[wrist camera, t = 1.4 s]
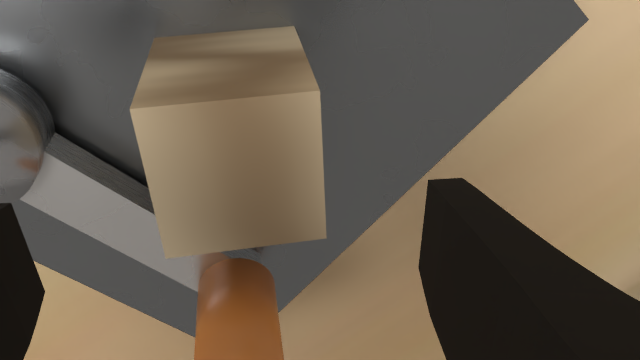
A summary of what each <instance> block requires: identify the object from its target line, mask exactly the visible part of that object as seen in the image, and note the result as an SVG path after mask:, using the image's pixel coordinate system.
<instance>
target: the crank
mask: <svg viewBox="0 0 640 360" xmlns="http://www.w3.org/2000/svg"><path fill="white" fill-rule="evenodd" d="M19 199H20V200H22V201H24V202H26V203H27V204H29V205H31V206H33V207H35V208H37V209H39V210H41V211H43V212H45V213H47V214H49V215H50V216H52V217H54V218H56V219H58V220H60V221H62V222H64V223H66V224H68V225H70V226H72V227H74V228H75V229H77V230H79V231H81V232H83V233H85V234H87V235H89V236H91V237H93V238H95V239H97V240H99V241H100V242H102V243H104V244H106V245H108V246H110V247H112V248H114V249H116V250H118V251H120V252H122V253H124V254H125V255H127V256H129V257H131V258H133V259H135V260H137V261H139V262H141V263H143V264H145V265H147V266H148V267H150V268H152V269H154V270H156V271H158V272H160V273H162V274H164V275H166V276H168V277H170V278H172V279H173V280H175V281H177V282H179V283H181V284H183V285H185V286H187V287H189V288H191V289H193V290H195V291H197V292H198V298H197V317H196V336H195V354H194V360H284V357H283V349H282V341H281V332H280V324H279V316H278V307H277V299H276V291H275V283H274V278H273V276H272V274H271V272H270V271H269V270H268V269H267V268H266V267H265V266H264V265H262V264H261V255H260V254H259V253H257V252H255V251H254V250H252V249H250V248H247V249H239V250H231V251H223V252H215V253H207V254H200V255H192V256H184V257H176V258H168V259H166V258H165V254H164V249H163V245H162V241H161V237H160V233H159V229H158V225H157V221H156V216H155V212H154V208H153V204H152V200H151V196H150V192H149V188H148V187H146V186H144V185H143V184H141V183H139V182H138V181H136V180H134V179H133V178H131V177H129V176H128V175H126V174H124V173H122V172H121V171H119V170H117V169H116V168H114V167H112V166H111V165H109V164H107V163H106V162H104V161H102V160H101V159H99V158H97V157H96V156H94V155H92V154H90V153H89V152H87V151H85V150H84V149H82V148H80V147H79V146H77V145H75V144H74V143H72V142H70V141H69V140H67V139H65V138H64V137H62V136H60V135H58V134H57V133H55V126H54V121H53V118H52V115H51V113H50V110H49V109H48V107H47V105H46V103H45V102H44V101H43V99H42V98H41V97H40V95H39V94H38V93H37V92H36V91H35V90H34V89H33V88H32V87H30V86H29V85H28V84H27V83H25V82H24V81H22V80H21V79H20V78H18V77H16V76H14V75H12V74H10V73H8V72H6V71H3V70H1V69H0V203H11V204H12V203H14V202H16V201H17V200H19Z"/></svg>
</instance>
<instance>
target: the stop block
mask: <svg viewBox="0 0 640 360" xmlns="http://www.w3.org/2000/svg"><path fill="white" fill-rule="evenodd" d="M130 113H131V117H132V122H133V126H134V130H135V134H136V138H137V142H138V146H139V150H140V155H141V159H142V163H143V167H144V171H145V175H146V179H147V183H148V188H149V192H150V196H151V200H152V204H153V208H154V212H155V216H156V221H157V225H158V229H159V233H160V237H161V241H162V245H163V249H164V254H165V258H166V259H168V258H176V257H184V256H192V255H200V254H207V253H215V252H223V251H231V250H239V249H247V248H255V247H263V246H270V245H278V244H286V243H294V242H302V241H310V240H318V239H326V238H327V237H326V214H325V192H324V169H323V146H322V124H321V101H320V89H319V87H318V84H317V82H316V79H315V77H314V74H313V72H312V69H311V67H310V64H309V62H308V59H307V57H306V54H305V52H304V49H303V47H302V44H301V42H300V39H299V37H298V34H297V32H296V29H295V27H294V26H288V27H276V28H265V29H253V30H241V31H229V32H217V33H206V34H194V35H182V36H170V37H158V38H154V40H153V43H152V46H151V49H150V52H149V55H148V58H147V60H146V63H145V66H144V69H143V72H142V75H141V78H140V81H139V83H138V86H137V89H136V92H135V95H134V98H133V101H132V103H131V106H130Z"/></svg>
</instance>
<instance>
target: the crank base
mask: <svg viewBox="0 0 640 360" xmlns="http://www.w3.org/2000/svg"><path fill="white" fill-rule="evenodd" d="M588 20H589V19H588V18H587V17H586V16H585V14H584V13H583V12H582V11H581V9H580V8H579V7H578V5H577V4H576V3H575V2H574V0H0V69H1V70H3V71H6V72H8V73H10V74H12V75H14V76H16V77H18V78H20V79H21V80H22V81H24V82H25V83H27V84H28V85H29V86H30V87H32V88H33V89H34V90H35V91H36V92H37V93H38V94H39V95H40V97H41V98H42V99H43V101H44V102H45V103H46V105H47V107H48V109H49V110H50V113H51V115H52V118H53V121H54V126H55V133H57V134H58V135H60V136H62V137H64V138H65V139H67V140H69V141H70V142H72V143H74V144H75V145H77V146H79V147H80V148H82V149H84V150H85V151H87V152H89V153H90V154H92V155H94V156H96V157H97V158H99V159H101V160H102V161H104V162H106V163H107V164H109V165H111V166H112V167H114V168H116V169H117V170H119V171H121V172H122V173H124V174H126V175H128V176H129V177H131V178H133V179H134V180H136V181H138V182H139V183H141V184H143V185H144V186H146V187H148V183H147V179H146V175H145V171H144V167H143V163H142V159H141V155H140V150H139V146H138V142H137V138H136V134H135V130H134V126H133V122H132V117H131V113H130V106H131V103H132V101H133V98H134V95H135V92H136V89H137V86H138V83H139V81H140V78H141V75H142V72H143V69H144V66H145V63H146V60H147V58H148V55H149V52H150V49H151V46H152V43H153V40H154V38H158V37H170V36H182V35H194V34H206V33H217V32H229V31H241V30H253V29H265V28H276V27H288V26H294V27H295V29H296V32H297V34H298V37H299V39H300V42H301V44H302V47H303V49H304V52H305V54H306V57H307V59H308V62H309V64H310V67H311V69H312V72H313V74H314V77H315V79H316V82H317V84H318V87H319V89H320V101H321V124H322V146H323V169H324V192H325V214H326V237H327V238H326V239H318V240H310V241H302V242H294V243H286V244H278V245H270V246H263V247H255V248H250V249H252V250H254V251H255V252H257V253H259V254H260V255H261V264H262V265H264V266H265V267H266V268H267V269H268V270H269V271H270V272H271V274H272V276H273V278H274V283H275V291H276V299H277V307H278V313H279V312H280V311H281V310H282V309H283V308H284V307H285V306H286V305H287V304H288V303H289V302H290V301H291V300H292V299H293V298H294V297H296V296H297V295H298V294H299V293H300V292H301V291H302V290H303V289H304V288H305V287H306V286H307V285H308V284H309V283H310V282H311V281H312V280H314V279H315V278H316V277H317V276H318V275H319V274H320V273H321V272H322V271H323V270H324V269H325V268H326V267H327V266H328V265H329V264H330V263H332V262H333V261H334V260H335V259H336V258H337V257H338V256H339V255H340V254H341V253H342V252H343V251H344V250H345V249H346V248H347V247H348V246H350V245H351V244H352V243H353V242H354V241H355V240H356V239H357V238H358V237H359V236H360V235H361V234H362V233H363V232H364V231H365V230H366V229H368V228H369V227H370V226H371V225H372V224H373V223H374V222H375V221H376V220H377V219H378V218H379V217H380V216H381V215H382V214H383V213H385V212H386V211H387V210H388V209H389V208H390V207H391V206H392V205H393V204H394V203H395V202H396V201H397V200H398V199H399V198H400V197H401V196H403V195H404V194H405V193H406V192H407V191H408V190H409V189H410V188H411V187H412V186H413V185H414V184H415V183H416V182H417V181H418V180H419V179H421V178H422V177H423V176H424V175H425V174H426V173H427V172H428V171H429V170H430V169H431V168H432V167H433V166H434V165H435V164H436V163H437V162H439V161H440V160H441V159H442V158H443V157H444V156H445V155H446V154H447V153H448V152H449V151H450V150H451V149H452V148H453V147H454V146H455V145H457V144H458V143H459V142H460V141H461V140H462V139H463V138H464V137H465V136H466V135H467V134H468V133H469V132H470V131H471V130H472V129H473V128H475V127H476V126H477V125H478V124H479V123H480V122H481V121H482V120H483V119H484V118H485V117H486V116H487V115H488V114H489V113H490V112H491V111H493V110H494V109H495V108H496V107H497V106H498V105H499V104H500V103H501V102H502V101H503V100H504V99H505V98H506V97H507V96H508V95H510V94H511V93H512V92H513V91H514V90H515V89H516V88H517V87H518V86H519V85H520V84H521V83H522V82H523V81H524V80H525V79H526V78H528V77H529V76H530V75H531V74H532V73H533V72H534V71H535V70H536V69H537V68H538V67H539V66H540V65H541V64H542V63H543V62H544V61H546V60H547V59H548V58H549V57H550V56H551V55H552V54H553V53H554V52H555V51H556V50H557V49H558V48H559V47H560V46H561V45H562V44H564V43H565V42H566V41H567V40H568V39H569V38H570V37H571V36H572V35H573V34H574V33H575V32H576V31H577V30H578V29H579V28H580V27H582V26H583V25H584V24H585V23H586V22H587V21H588ZM12 206H13V209H14V212H15V214H16V217H17V219H18V222H19V225H20V227H21V230H22V233H23V235H24V238H25V240H26V243H27V246H28V248H29V251H30V254H31V256H32V259H33V261H35V262H38V263H40V264H42V265H44V266H46V267H48V268H50V269H52V270H54V271H57V272H59V273H61V274H63V275H65V276H67V277H69V278H71V279H73V280H75V281H78V282H80V283H82V284H84V285H86V286H88V287H90V288H92V289H94V290H97V291H99V292H101V293H103V294H105V295H107V296H109V297H111V298H113V299H115V300H118V301H120V302H122V303H124V304H126V305H128V306H130V307H132V308H134V309H137V310H139V311H141V312H143V313H145V314H147V315H149V316H151V317H153V318H155V319H158V320H160V321H162V322H164V323H166V324H168V325H170V326H172V327H174V328H177V329H179V330H181V331H183V332H185V333H187V334H189V335H191V336H193V337H195V336H196V317H197V298H198V292H197V291H195V290H193V289H191V288H189V287H187V286H185V285H183V284H181V283H179V282H177V281H175V280H173V279H172V278H170V277H168V276H166V275H164V274H162V273H160V272H158V271H156V270H154V269H152V268H150V267H148V266H147V265H145V264H143V263H141V262H139V261H137V260H135V259H133V258H131V257H129V256H127V255H125V254H124V253H122V252H120V251H118V250H116V249H114V248H112V247H110V246H108V245H106V244H104V243H102V242H100V241H99V240H97V239H95V238H93V237H91V236H89V235H87V234H85V233H83V232H81V231H79V230H77V229H75V228H74V227H72V226H70V225H68V224H66V223H64V222H62V221H60V220H58V219H56V218H54V217H52V216H50V215H49V214H47V213H45V212H43V211H41V210H39V209H37V208H35V207H33V206H31V205H29V204H27V203H26V202H24V201H22V200H20V199H19V200H17V201H16V202H14V203H12Z"/></svg>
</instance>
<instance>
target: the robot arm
mask: <svg viewBox="0 0 640 360" xmlns="http://www.w3.org/2000/svg"><path fill="white" fill-rule="evenodd" d="M419 271H420V276H421V280H422V285H423V289H424V293H425V297H426V301H427V305H428V309H429V313H430V317H431V320H432V322H433V325H434V328H435V331H436V333H437V336H438V338H439V341H440V344H441V346H442V349H443V352H444V354H445V357H446V360H640V301H638V300H636V299H634V298H633V297H631V296H629V295H627V294H626V293H624V292H622V291H621V290H619V289H617V288H616V287H614V286H612V285H611V284H609V283H608V282H606V281H604V280H603V279H601V278H600V277H598V276H597V275H595V274H594V273H592V272H591V271H589V270H588V269H586V268H585V267H583V266H581V265H580V264H578V263H577V262H575V261H574V260H572V259H571V258H569V257H568V256H566V255H565V254H564V253H562V252H561V251H559V250H558V249H556V248H555V247H554V246H552V245H551V244H549V243H548V242H547V241H545V240H544V239H542V238H541V237H540V236H538V235H537V234H536V233H534V232H533V231H532V230H530V229H529V228H528V227H526V226H525V225H524V224H522V223H521V222H520V221H518V220H517V219H516V218H514V217H513V216H512V215H510V214H509V213H508V212H506V211H505V210H504V209H503V208H501V207H500V206H499V205H497V204H496V203H495V202H494V201H492V200H491V199H490V198H488V197H487V196H486V195H484V194H483V193H482V192H481V191H479V190H478V189H477V188H475V187H474V186H473V185H471V184H470V183H468V182H467V181H466V180H464V179H463V178H454V179H436V180H428V187H427V196H426V205H425V214H424V223H423V232H422V241H421V250H420V259H419ZM44 294H45V290H44V288H43V285H42V282H41V280H40V277H39V275H38V272H37V269H36V267H35V264H34V261H33V259H32V256H31V254H30V251H29V248H28V246H27V243H26V240H25V238H24V235H23V233H22V230H21V227H20V225H19V222H18V219H17V217H16V214H15V212H14V209H13V206H12V204H11V203H0V360H23V359H24V356H25V354H26V352H27V349H28V347H29V345H30V342H31V339H32V335H33V332H34V329H35V326H36V323H37V319H38V316H39V312H40V308H41V305H42V301H43V297H44Z"/></svg>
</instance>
